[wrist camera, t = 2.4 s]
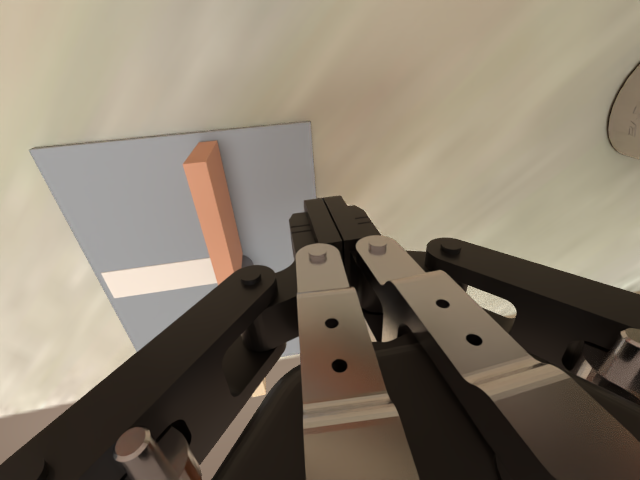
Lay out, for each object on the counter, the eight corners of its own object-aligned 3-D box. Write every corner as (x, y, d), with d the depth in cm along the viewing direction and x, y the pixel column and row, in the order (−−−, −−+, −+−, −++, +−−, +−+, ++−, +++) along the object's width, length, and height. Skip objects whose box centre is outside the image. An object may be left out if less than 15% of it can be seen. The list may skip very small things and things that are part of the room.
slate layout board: (309, 120, 22) (325, 142, 17) (326, 345, 34) (339, 401, 28) (33, 147, 20) (-53, 182, 15) (153, 375, 32) (130, 442, 26)
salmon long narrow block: (242, 253, 26) (239, 292, 21) (227, 255, 25) (220, 295, 21) (217, 140, 21) (206, 161, 17) (198, 142, 21) (182, 164, 17)
